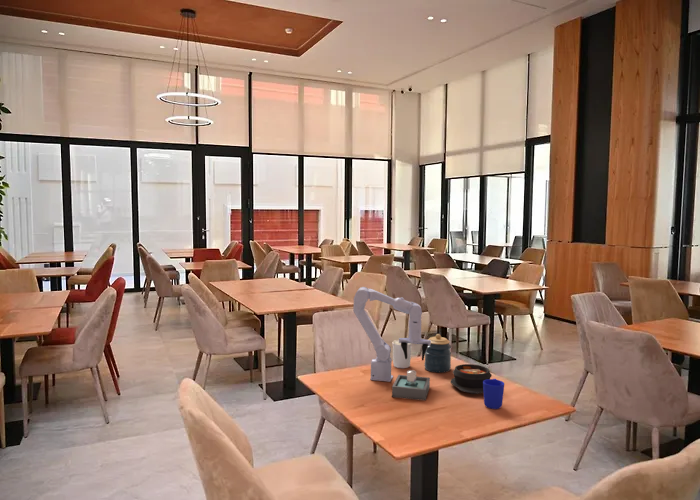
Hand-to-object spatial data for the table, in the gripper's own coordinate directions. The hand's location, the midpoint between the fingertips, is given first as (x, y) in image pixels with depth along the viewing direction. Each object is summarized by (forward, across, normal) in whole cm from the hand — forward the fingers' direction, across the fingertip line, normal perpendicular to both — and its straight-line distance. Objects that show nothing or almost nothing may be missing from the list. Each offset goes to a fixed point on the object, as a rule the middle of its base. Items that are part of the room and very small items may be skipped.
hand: (414, 359), depth 231 cm
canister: (+10, +9, +20) cm, 24 cm away
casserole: (+10, +26, -2) cm, 28 cm away
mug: (+10, +35, -21) cm, 42 cm away
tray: (+10, +1, -16) cm, 19 cm away
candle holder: (+10, -9, +20) cm, 24 cm away
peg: (+9, +1, -16) cm, 18 cm away
